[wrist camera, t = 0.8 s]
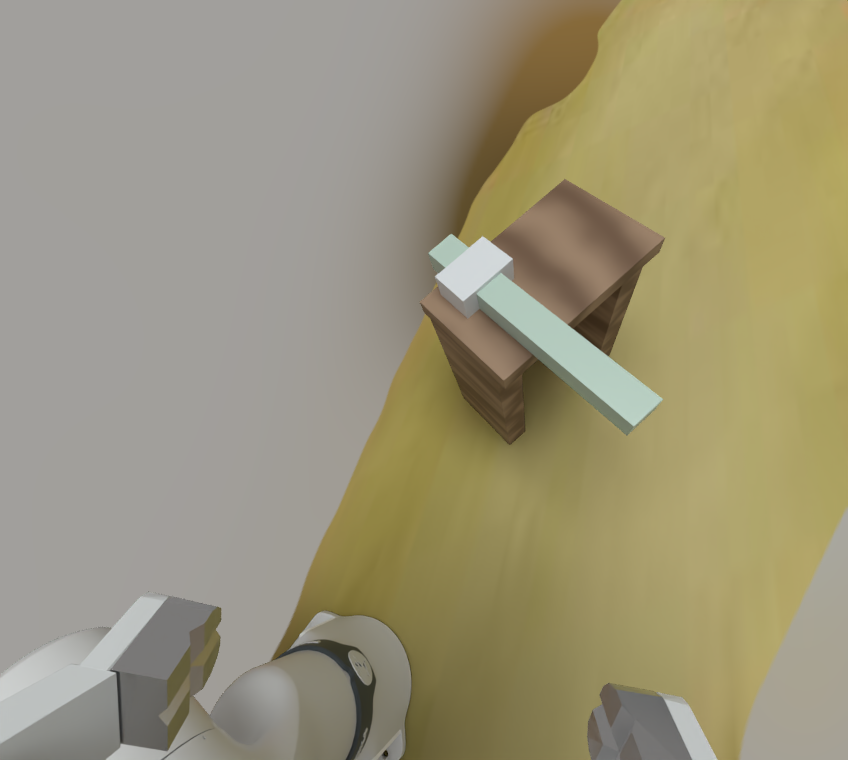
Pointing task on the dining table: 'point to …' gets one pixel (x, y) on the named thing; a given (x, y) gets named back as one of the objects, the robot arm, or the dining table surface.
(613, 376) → the pale green bar
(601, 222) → the shelf
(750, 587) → the dining table surface
